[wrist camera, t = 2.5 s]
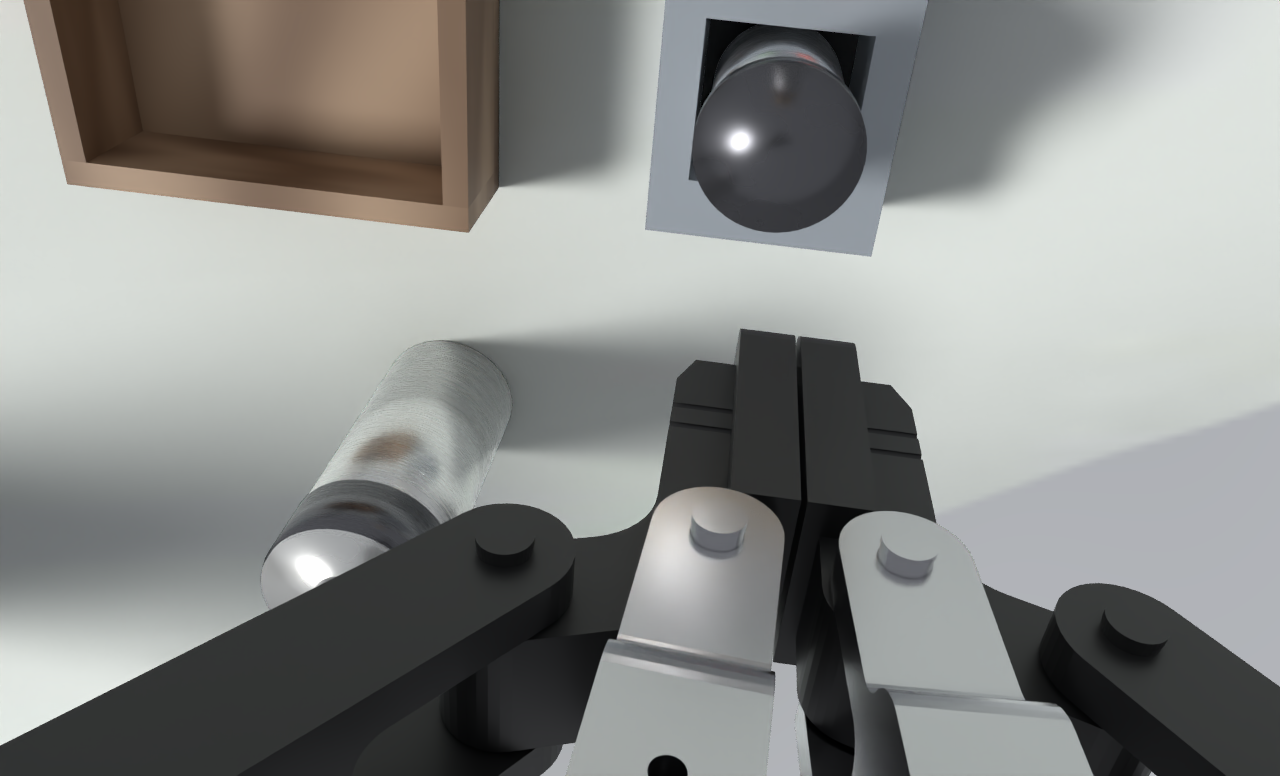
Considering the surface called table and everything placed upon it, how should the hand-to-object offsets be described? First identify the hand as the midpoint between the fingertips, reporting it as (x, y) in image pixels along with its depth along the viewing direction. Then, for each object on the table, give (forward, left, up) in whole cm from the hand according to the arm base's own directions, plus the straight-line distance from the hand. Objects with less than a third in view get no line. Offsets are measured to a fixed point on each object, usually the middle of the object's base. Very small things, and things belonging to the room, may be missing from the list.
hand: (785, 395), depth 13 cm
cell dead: (-10, -12, -17) cm, 23 cm away
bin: (-14, +1, -17) cm, 22 cm away
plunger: (0, 0, -15) cm, 15 cm away
